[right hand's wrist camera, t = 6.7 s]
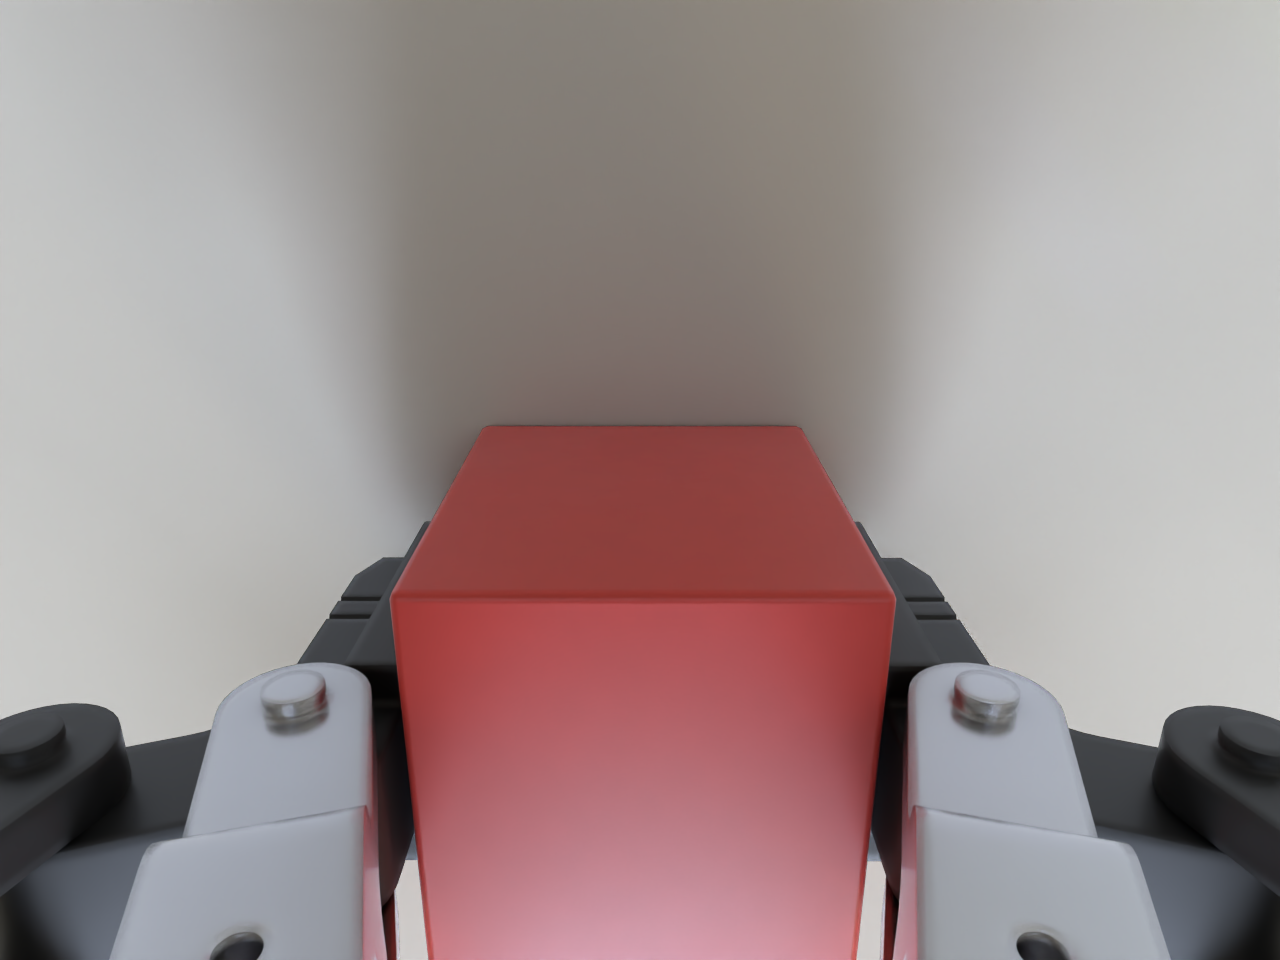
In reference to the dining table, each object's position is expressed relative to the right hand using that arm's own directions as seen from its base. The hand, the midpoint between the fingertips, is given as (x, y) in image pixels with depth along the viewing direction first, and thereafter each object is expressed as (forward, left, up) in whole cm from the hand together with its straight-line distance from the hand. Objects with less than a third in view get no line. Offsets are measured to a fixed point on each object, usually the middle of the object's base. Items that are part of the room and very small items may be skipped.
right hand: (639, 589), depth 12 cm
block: (0, 0, 0) cm, 0 cm away
